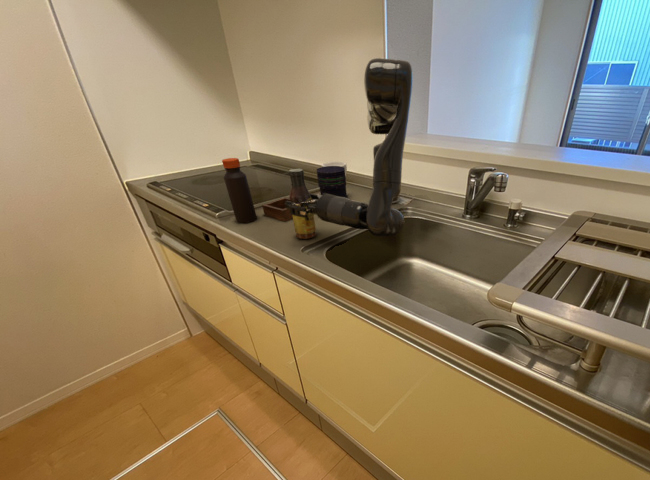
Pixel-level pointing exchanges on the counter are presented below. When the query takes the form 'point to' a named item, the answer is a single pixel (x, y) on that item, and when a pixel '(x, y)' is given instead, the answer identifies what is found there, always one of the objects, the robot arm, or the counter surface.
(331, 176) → the storage jar
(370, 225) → the robot arm
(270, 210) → the box
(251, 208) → the vinegar
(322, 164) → the foam cup
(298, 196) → the sauce bottle
